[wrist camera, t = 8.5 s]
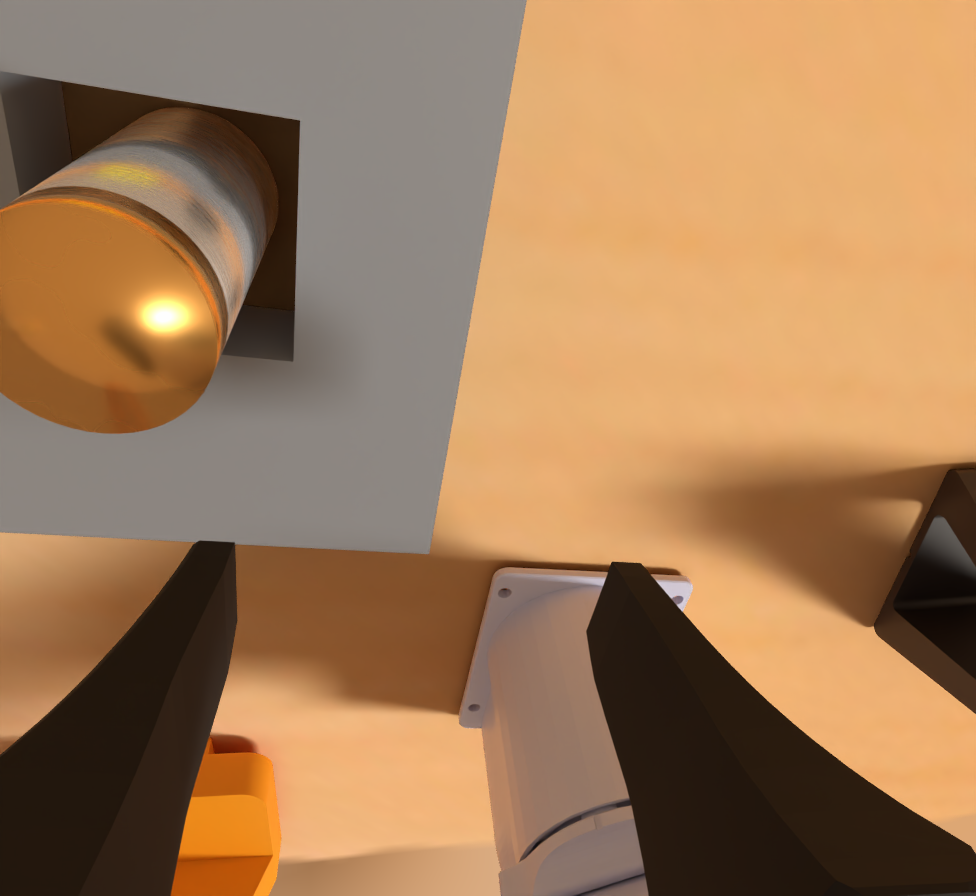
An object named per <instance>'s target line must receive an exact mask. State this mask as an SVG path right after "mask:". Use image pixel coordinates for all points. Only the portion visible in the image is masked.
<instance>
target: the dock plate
mask: <svg viewBox="0 0 976 896" xmlns="http://www.w3.org/2000/svg"><path fill="white" fill-rule="evenodd" d="M525 6H526V0H0V209H1V208H3V207H5V206H6V205H8V204H9V203H11V202H12V201H14V200H15V199H17V198H18V197H20V196H21V195H23V194H24V193H26V192H27V191H29V190H30V189H32V188H33V187H35V186H37V185H38V184H40V183H41V182H43V181H44V180H46V179H47V178H49V177H50V176H52V175H53V174H55V173H56V172H58V171H59V170H61V169H62V168H64V167H65V166H67V165H69V164H70V163H72V155H71V148H70V141H69V134H68V127H67V120H66V113H65V106H64V99H63V91H62V84H61V81H64V82H70V83H76V84H82V85H88V86H95V87H101V88H107V89H113V90H119V91H125V92H131V93H137V94H143V95H149V96H155V97H161V98H167V99H173V100H179V101H185V102H192V103H198V104H204V105H210V106H216V107H222V108H228V109H234V110H240V111H246V112H252V113H258V114H264V115H270V116H276V117H283V118H289V119H295V120H300V143H299V180H298V216H297V252H296V288H295V311H290V310H281V309H272V308H264V307H255V306H246V305H242V306H241V309H240V311H239V314H238V316H237V318H236V321H235V323H234V325H233V328H232V330H231V333H230V335H229V337H228V340H227V342H226V344H225V347H224V349H223V352H222V354H221V356H220V359H219V361H218V363H217V366H216V368H215V371H214V373H213V375H212V378H211V380H210V382H209V384H208V386H207V388H206V389H205V391H204V393H203V394H202V396H201V397H200V398H199V399H198V401H197V402H196V403H195V404H194V405H193V406H192V407H191V408H189V409H188V410H187V411H186V412H185V413H183V414H182V415H180V416H179V417H177V418H176V419H174V420H172V421H170V422H168V423H166V424H164V425H161V426H158V427H155V428H152V429H149V430H144V431H139V432H134V433H123V434H103V433H95V432H87V431H82V430H78V429H73V428H69V427H66V426H63V425H60V424H56V423H54V422H51V421H49V420H46V419H44V418H41V417H39V416H37V415H35V414H33V413H31V412H29V411H28V410H26V409H24V408H22V407H20V406H19V405H17V404H16V403H14V402H13V401H11V400H10V399H8V398H7V397H6V396H4V395H3V394H2V393H0V532H5V533H25V534H44V535H64V536H83V537H103V538H123V539H142V540H162V541H181V542H198V541H199V540H202V541H221V542H235V544H240V545H259V546H279V547H298V548H318V549H337V550H357V551H376V552H396V553H415V554H429V552H430V546H431V540H432V535H433V529H434V523H435V518H436V512H437V506H438V501H439V495H440V489H441V484H442V478H443V472H444V467H445V461H446V455H447V450H448V444H449V438H450V432H451V427H452V421H453V415H454V410H455V404H456V398H457V393H458V387H459V381H460V376H461V370H462V364H463V359H464V353H465V347H466V342H467V336H468V330H469V324H470V319H471V313H472V307H473V302H474V296H475V290H476V285H477V279H478V273H479V268H480V262H481V256H482V251H483V245H484V239H485V234H486V228H487V222H488V216H489V211H490V205H491V199H492V194H493V188H494V182H495V177H496V171H497V165H498V160H499V154H500V148H501V143H502V137H503V131H504V126H505V120H506V114H507V108H508V103H509V97H510V91H511V86H512V80H513V74H514V69H515V63H516V57H517V52H518V46H519V40H520V35H521V29H522V23H523V18H524V12H525Z"/></svg>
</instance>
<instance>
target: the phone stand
mask: <svg viewBox="0 0 976 896" xmlns="http://www.w3.org/2000/svg"><path fill="white" fill-rule="evenodd" d="M910 553H911V557H907V558H906V559H905V561H904V563H903V565H902V567H901V569H900V572H899V574H898V576H897V578H896V580H895V582H894V584H893V586H892V588H891V590H890V592H889V594H888V596H887V599H886V601H885V603H884V605H883V607H882V609H881V611H880V613H879V615H878V617H877V619H876V621H875V623H874V629H875V632H876V634H877V635H878V636H879V637H880V638H881V639H882V640H884V641H885V642H886V643H887V644H889V645H890V646H891V647H892V648H894V649H895V650H896V651H897V652H899V653H900V654H901V655H902V656H904V657H905V658H906V659H907V660H909V661H910V662H911V663H912V664H914V665H915V666H916V667H918V668H919V669H920V670H921V671H923V672H924V673H925V674H926V675H928V676H929V677H930V678H931V679H933V680H934V681H935V682H936V683H938V684H939V685H940V686H941V687H943V688H944V689H945V690H946V691H948V692H949V693H950V694H951V695H953V696H954V697H955V698H956V699H958V700H959V701H960V702H961V703H963V704H964V705H965V706H966V707H968V708H969V709H970V710H971V711H973V712H974V713H975V714H976V469H961V470H950V471H948V472H947V474H946V476H945V478H944V480H943V482H942V484H941V486H940V489H939V491H938V493H937V495H936V497H935V499H934V501H933V503H932V505H931V507H930V509H929V511H928V513H927V516H926V518H925V520H924V522H923V524H922V526H921V528H920V530H919V532H918V534H917V536H916V538H915V540H914V542H913V545H912V547H911V549H910Z"/></svg>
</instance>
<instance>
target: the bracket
mask: <svg viewBox="0 0 976 896" xmlns="http://www.w3.org/2000/svg"><path fill="white" fill-rule="evenodd" d="M280 845H281V831H280V823H279V814H278V806H277V798H276V790H275V781H274V773H273V765H272V762H271V761H270V760H269V759H268V758H267V757H265V756H263V755H261V754H257V753H249V752H248V753H225V754H214V749H213V744H212V739H211V738H209V739H208V742H207V745H206V749H205V752H204V755H203V759H202V762H201V765H200V769H199V772H198V775H197V779H196V782H195V785H194V789H193V792H192V796H191V800H190V804H189V808H188V812H187V816H186V820H185V825H184V830H183V835H182V840H181V845H180V850H179V855H178V860H177V865H176V870H175V875H174V881H173V886H172V891H171V896H268V895H269V893H270V891H271V889H272V887H273V885H274V883H275V881H276V878H277V877H276V876H277V870H278V861H279V853H280Z"/></svg>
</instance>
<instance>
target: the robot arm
mask: <svg viewBox="0 0 976 896" xmlns="http://www.w3.org/2000/svg"><path fill="white" fill-rule="evenodd" d="M503 588H508V589H506V590H501V589H503ZM692 591H693V586H692V583H691V581H690V579H689V578H688V577H686V576H678V575H658V574H650V573H649V572H648V571H647V570H646V569H645V568H644V566H643V565H642V564H641V563H626V562H612V563H611V566H610V568H609V571H608V572H596V571H575V570H555V569H534V568H514V567H506V568H501V569H499V570H498V571H496V572H495V574H494V575H493V579H492V583H491V587H490V591H489V595H488V599H487V603H486V607H485V611H484V615H483V619H482V623H481V627H480V631H479V635H478V639H477V643H476V647H475V651H474V655H473V659H472V663H471V667H470V671H469V675H468V679H467V683H466V687H465V691H464V695H463V699H462V703H461V707H460V711H459V724H460V725H461V726H463V727H465V728H482V736H483V745H484V753H485V761H486V770H487V778H488V786H489V795H490V803H491V811H492V820H493V828H494V836H495V845H496V851H497V856H498V860H499V864H500V867H501V870H502V871H500V872H499V883H500V892H501V896H976V853H975V852H974V850H973V849H972V847H971V846H970V845H968V844H966V843H965V842H963V841H961V840H960V839H958V838H956V837H955V836H953V835H951V834H950V833H948V832H946V831H945V830H943V829H941V828H940V827H938V826H936V825H935V824H933V823H932V822H930V821H928V820H927V819H925V818H923V817H922V816H920V815H918V814H917V813H915V812H913V811H912V810H910V809H909V808H907V807H905V806H904V805H902V804H901V803H899V802H898V801H896V800H895V799H893V798H892V797H890V796H889V795H888V794H886V793H885V792H883V791H882V790H880V789H879V788H877V787H876V786H874V785H873V784H871V783H870V782H868V781H867V780H866V779H864V778H863V777H861V776H860V775H859V774H857V773H856V772H854V771H853V770H852V769H850V768H849V767H847V766H846V765H845V764H843V763H842V762H841V761H840V760H838V759H837V758H836V757H834V756H833V755H832V754H831V753H829V752H828V751H827V750H825V749H824V748H823V747H821V746H820V745H819V744H818V743H816V742H815V741H814V740H812V739H811V738H810V737H809V736H808V735H806V734H805V733H804V732H803V731H802V730H800V729H799V728H798V727H797V726H796V725H794V724H793V723H792V722H791V721H790V720H789V719H788V718H786V717H785V716H784V715H783V714H782V713H781V712H780V711H778V710H777V709H776V708H775V707H774V706H773V705H772V704H771V703H769V702H768V701H767V700H766V699H765V698H764V697H763V696H762V695H761V694H760V693H759V692H758V691H757V690H755V689H754V688H753V687H752V686H751V685H750V684H749V683H748V682H747V681H746V680H745V679H744V678H743V677H742V676H741V675H740V674H739V673H738V672H737V671H736V670H735V669H734V668H733V667H732V666H731V665H730V664H729V663H728V662H727V660H726V659H725V658H724V657H723V656H722V655H721V654H720V653H719V652H718V651H717V650H716V649H715V648H714V647H713V646H712V644H711V643H710V642H709V641H708V640H707V639H706V638H705V637H704V636H703V635H702V633H701V632H700V631H699V630H698V629H697V628H696V627H695V626H694V624H693V623H692V622H691V621H690V620H689V619H688V618H687V616H686V615H685V614H684V613H683V610H684V608H685V606H686V603H687V601H688V599H689V597H690V595H691V593H692ZM675 596H676V597H675ZM236 624H237V596H236V560H235V542H221V541H202V540H199V541H198V542H196V543H195V544H194V545H193V546H192V547H191V549H190V550H189V552H188V554H187V555H186V557H185V558H184V560H183V561H182V562H181V564H180V565H179V567H178V568H177V570H176V571H175V572H174V574H173V575H172V576H171V578H170V579H169V581H168V582H167V583H166V585H165V586H164V587H163V588H162V590H161V591H160V592H159V594H158V595H157V596H156V598H155V599H154V600H153V601H152V603H151V604H150V605H149V606H148V607H147V609H146V610H145V611H144V612H143V613H142V615H141V616H140V617H139V618H138V620H137V621H136V622H135V623H134V624H133V626H132V627H131V628H130V629H129V630H128V632H127V633H126V634H125V635H124V636H123V637H122V638H121V639H120V641H119V642H118V643H117V644H116V645H115V646H114V647H113V648H112V649H111V650H110V651H109V653H108V654H107V655H106V656H105V657H104V658H103V659H102V660H101V661H100V662H99V663H98V665H97V666H96V667H95V668H94V669H93V670H92V671H91V672H90V673H89V674H88V675H87V676H86V677H85V678H84V679H83V680H82V681H81V682H80V683H79V684H78V685H77V686H76V687H75V688H74V689H73V690H72V691H71V692H70V693H69V694H68V695H67V696H66V697H65V698H64V699H63V700H62V701H61V702H60V703H59V704H57V705H56V706H55V707H54V708H53V709H52V710H51V711H50V712H49V713H48V714H47V715H46V716H45V717H44V718H42V719H41V720H40V721H39V722H38V723H37V724H36V725H34V726H33V727H32V728H31V729H30V730H29V731H28V732H26V733H25V734H24V735H23V736H22V737H21V738H20V739H18V740H17V741H16V742H15V743H14V744H13V745H11V746H10V747H9V748H8V749H7V750H6V751H4V752H3V753H2V754H1V755H0V896H171V891H172V886H173V881H174V875H175V870H176V865H177V860H178V855H179V850H180V845H181V840H182V835H183V830H184V825H185V820H186V816H187V812H188V808H189V804H190V800H191V796H192V792H193V789H194V785H195V782H196V779H197V775H198V772H199V769H200V765H201V762H202V759H203V755H204V752H205V749H206V745H207V742H208V739H209V735H210V732H211V729H212V725H213V722H214V718H215V715H216V712H217V708H218V705H219V702H220V698H221V695H222V691H223V688H224V685H225V681H226V678H227V674H228V669H229V664H230V659H231V653H232V648H233V642H234V636H235V630H236Z"/></svg>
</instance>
